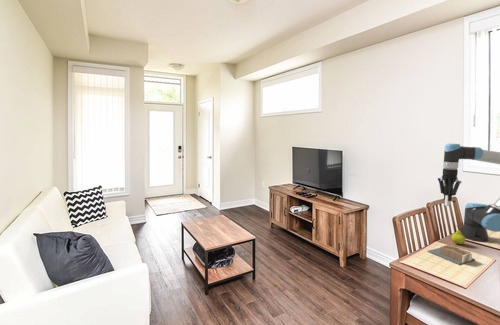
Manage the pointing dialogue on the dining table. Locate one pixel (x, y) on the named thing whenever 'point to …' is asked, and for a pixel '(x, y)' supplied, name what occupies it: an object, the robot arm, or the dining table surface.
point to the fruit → (458, 237)
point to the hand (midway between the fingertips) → (447, 205)
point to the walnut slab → (456, 253)
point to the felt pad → (437, 253)
